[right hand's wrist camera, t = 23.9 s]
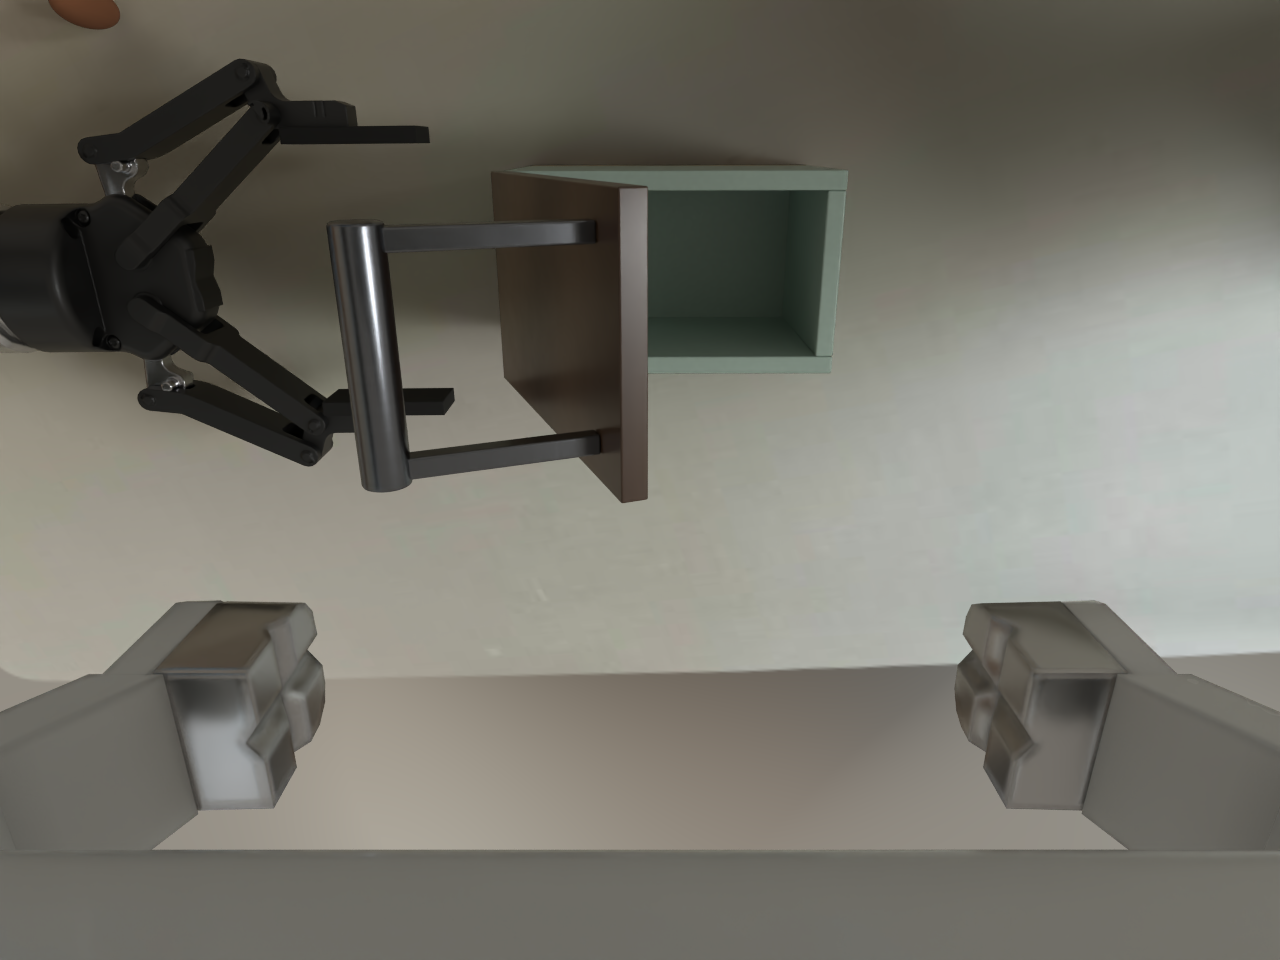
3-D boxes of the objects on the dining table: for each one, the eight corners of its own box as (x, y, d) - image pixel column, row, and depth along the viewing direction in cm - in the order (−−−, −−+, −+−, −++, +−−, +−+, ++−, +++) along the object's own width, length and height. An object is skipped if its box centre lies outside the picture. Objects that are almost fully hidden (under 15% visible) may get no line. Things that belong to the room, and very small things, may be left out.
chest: (803, 164, 48) (849, 170, 38) (793, 328, 52) (831, 373, 42) (531, 165, 48) (502, 170, 38) (539, 328, 52) (514, 374, 42)
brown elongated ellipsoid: (124, 42, 46) (65, 31, 41) (89, 18, 46) (26, 3, 41) (138, 8, 45) (81, -7, 41) (103, -16, 45) (41, -35, 40)
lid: (648, 186, 23) (324, 192, 20) (648, 499, 27) (371, 543, 24) (510, 170, 38) (309, 173, 35) (522, 376, 41) (340, 393, 38)
